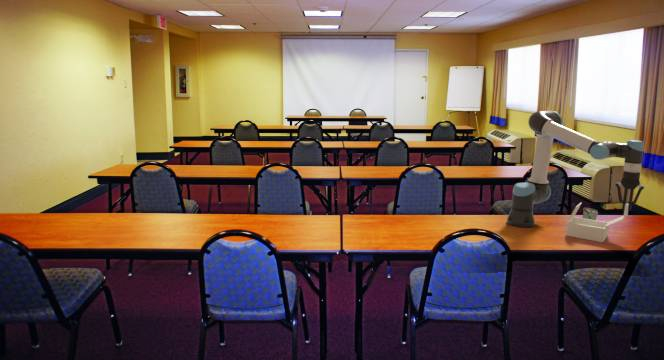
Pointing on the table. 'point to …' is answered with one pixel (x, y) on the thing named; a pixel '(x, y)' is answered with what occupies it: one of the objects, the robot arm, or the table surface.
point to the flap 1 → (574, 211)
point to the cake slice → (589, 213)
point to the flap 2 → (615, 221)
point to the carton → (587, 229)
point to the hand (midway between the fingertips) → (625, 216)
